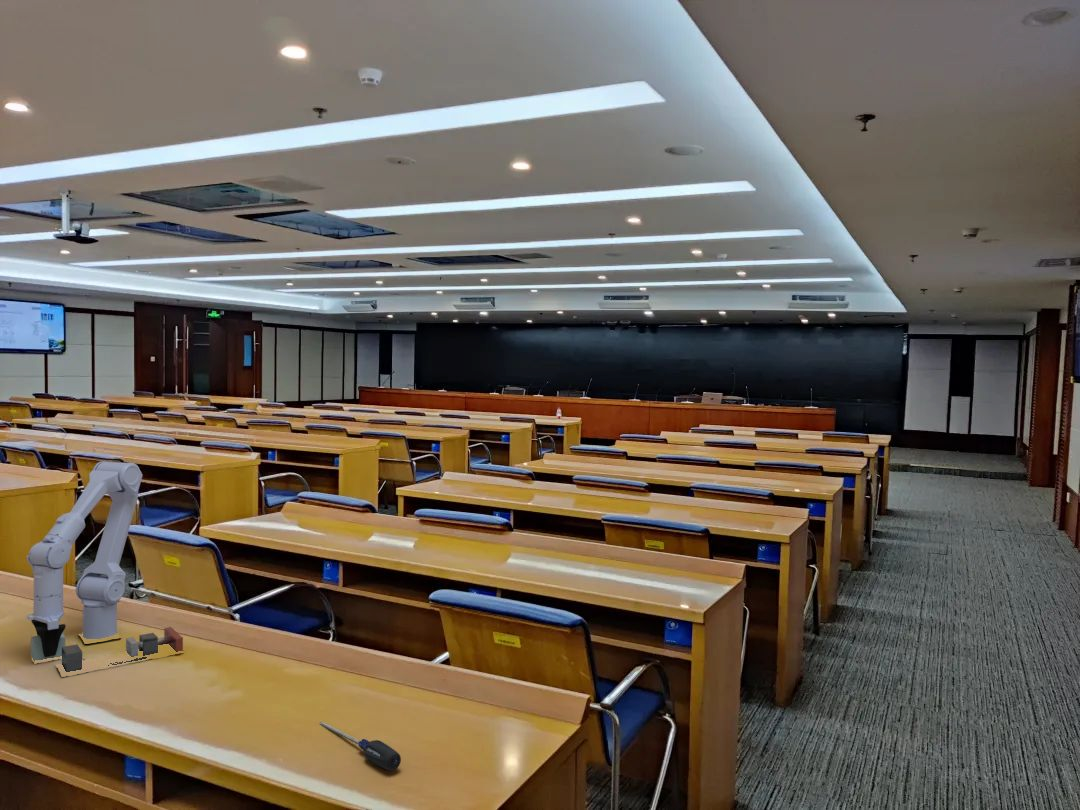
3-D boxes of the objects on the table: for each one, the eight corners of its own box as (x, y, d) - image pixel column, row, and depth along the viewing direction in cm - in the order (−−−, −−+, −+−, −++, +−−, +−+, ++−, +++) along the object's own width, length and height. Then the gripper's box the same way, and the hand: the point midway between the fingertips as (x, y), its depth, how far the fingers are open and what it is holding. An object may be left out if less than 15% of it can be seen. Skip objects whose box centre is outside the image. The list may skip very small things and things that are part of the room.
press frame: (55, 667, 168) (55, 646, 168) (174, 644, 184) (174, 625, 184) (61, 678, 162) (61, 657, 161) (183, 653, 178) (183, 634, 178)
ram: (123, 647, 177) (123, 635, 177) (170, 639, 184) (170, 626, 184) (133, 660, 170) (133, 647, 170) (182, 650, 177) (182, 637, 177)
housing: (30, 658, 173) (31, 633, 172) (61, 652, 176) (61, 628, 176) (33, 664, 169) (34, 639, 169) (65, 658, 173) (65, 633, 173)
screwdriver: (310, 726, 142) (311, 706, 142) (328, 721, 145) (328, 701, 145) (386, 780, 124) (386, 757, 124) (404, 772, 126) (405, 750, 126)
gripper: (23, 589, 175) (23, 647, 175) (32, 604, 164) (31, 665, 164) (58, 585, 180) (58, 641, 180) (69, 598, 169) (69, 658, 169)
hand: (48, 652), depth 173 cm, fingers closed on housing, 5 cm apart
